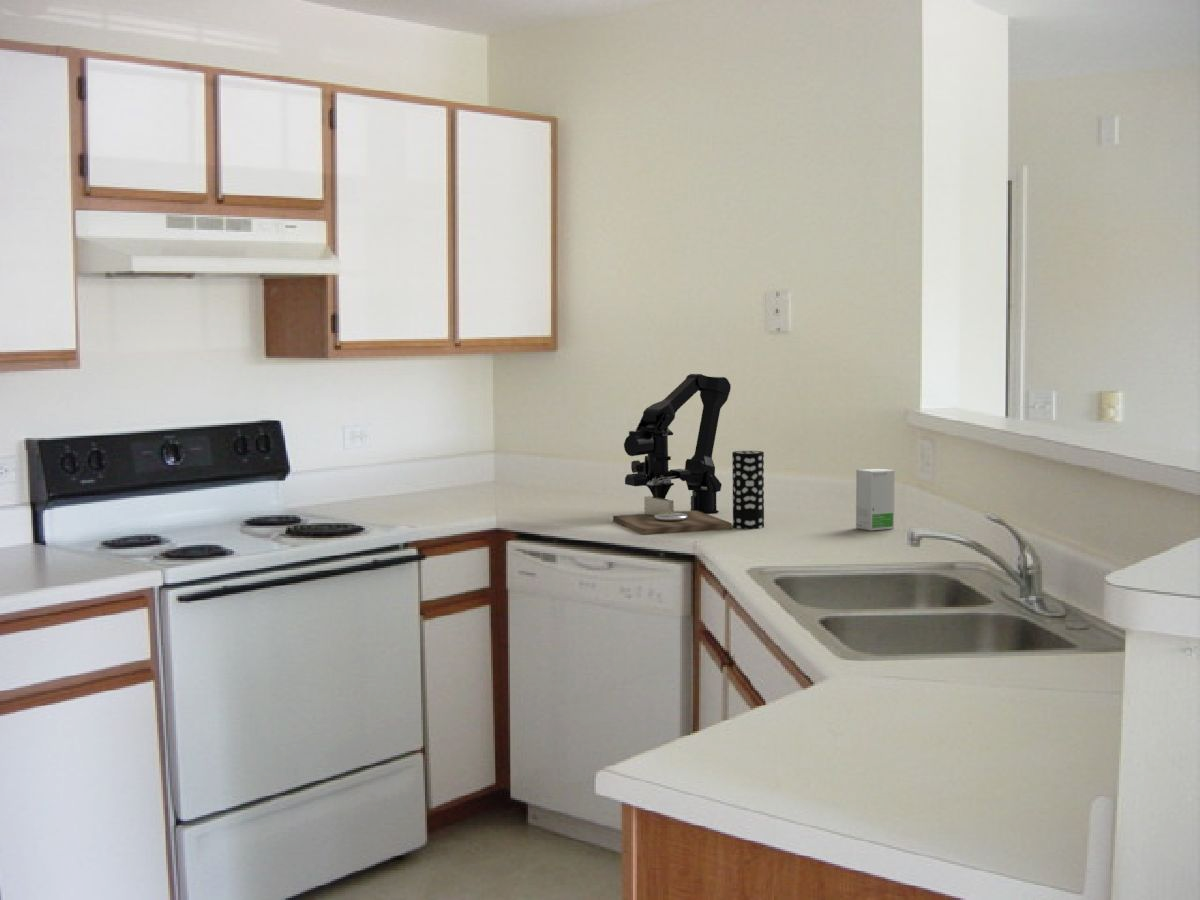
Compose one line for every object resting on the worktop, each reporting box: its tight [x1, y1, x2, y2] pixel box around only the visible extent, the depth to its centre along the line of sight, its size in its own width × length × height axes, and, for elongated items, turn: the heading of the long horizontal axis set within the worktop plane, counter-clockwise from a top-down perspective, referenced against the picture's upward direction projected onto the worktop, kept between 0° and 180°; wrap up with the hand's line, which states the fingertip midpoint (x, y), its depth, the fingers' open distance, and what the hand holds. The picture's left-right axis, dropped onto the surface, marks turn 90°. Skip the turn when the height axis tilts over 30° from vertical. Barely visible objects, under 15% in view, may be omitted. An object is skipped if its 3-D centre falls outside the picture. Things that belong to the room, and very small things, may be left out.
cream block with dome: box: [643, 495, 688, 521], centre depth 359 cm, size 16×9×5 cm, turn 32°
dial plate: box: [612, 510, 733, 536], centre depth 356 cm, size 25×25×2 cm
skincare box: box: [855, 468, 895, 532], centre depth 344 cm, size 8×7×16 cm
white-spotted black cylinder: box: [732, 450, 765, 530], centre depth 350 cm, size 8×8×20 cm
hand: (658, 508), depth 366 cm, fingers closed
